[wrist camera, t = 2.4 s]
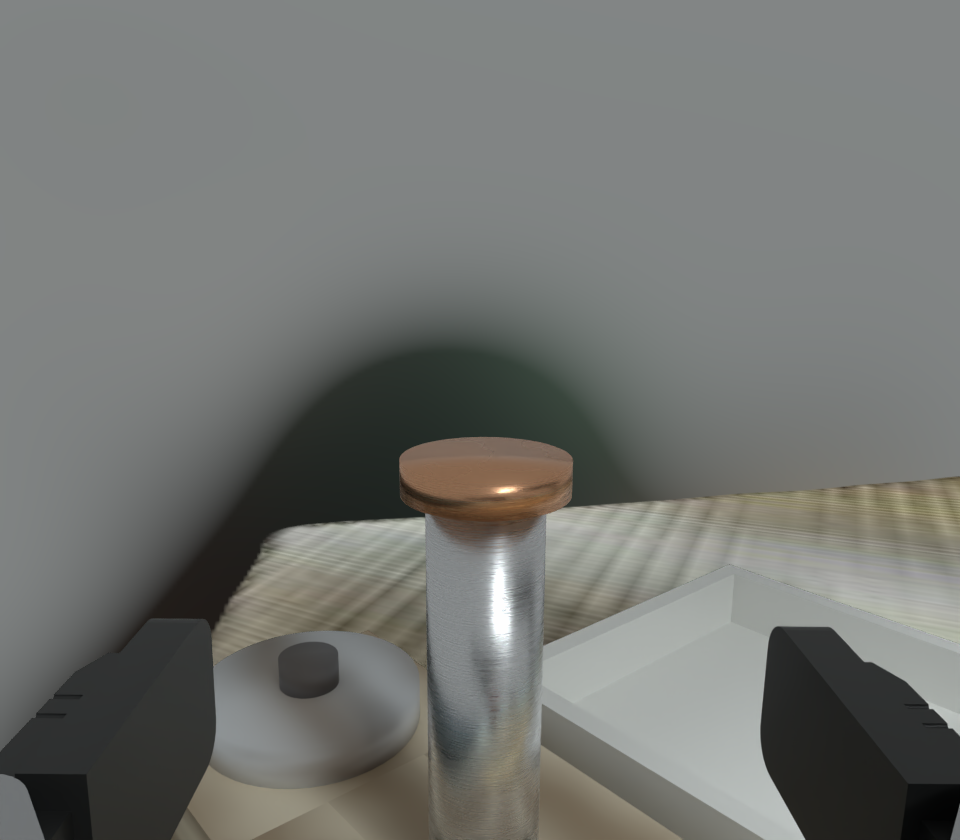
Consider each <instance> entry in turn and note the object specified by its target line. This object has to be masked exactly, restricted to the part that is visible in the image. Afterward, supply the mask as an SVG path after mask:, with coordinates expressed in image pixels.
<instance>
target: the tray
mask: <svg viewBox="0 0 960 840" xmlns="http://www.w3.org/2000/svg"><path fill="white" fill-rule="evenodd" d="M777 626H796V627H830V628H832V629H833V630H835V632H836V633H837V634H838V635H839V636H840V637H841V638H842V639H843V640H844V641H845V642H846V643H847V644H848V645H849V646H850V648H851V649H852V650H853V651H854V652H855V653H856V654H857V655H858V656H859V657H860V658H861V659H862V660H863V661H864V662H873V663H874V664H876V665H878V666H880V667H881V668H883V669H885V670H887V671H888V672H890V673H892V674H894V675H895V676H897V677H899V678H901V679H902V680H904V681H906V682H907V683H908V684H909V685H910V686H911V687H912V688H913V689H914V690H915V691H916V692H917V693H918V694H919V695H920V696H921V697H922V698H923V699H924V700H925V701H926V702H927V703H928V704H929V709H934V710H935V711H936V712H937V713H938V714H939V715H940V716H941V717H942V718H943V719H944V720H945V721H946V722H947V723H948V728H953V729H954V730H955V731H956V732H957V733H958V735H959V736H960V644H958V643H955V642H953V641H950V640H947V639H944V638H941V637H938V636H935V635H932V634H929V633H927V632H924V631H921V630H918V629H915V628H912V627H909V626H906V625H903V624H900V623H898V622H895V621H892V620H889V619H886V618H883V617H880V616H877V615H874V614H872V613H869V612H866V611H863V610H860V609H857V608H854V607H851V606H848V605H846V604H843V603H840V602H837V601H834V600H831V599H828V598H825V597H822V596H820V595H817V594H814V593H811V592H808V591H805V590H802V589H799V588H796V587H793V586H791V585H788V584H785V583H782V582H779V581H776V580H773V579H770V578H767V577H765V576H762V575H759V574H756V573H753V572H750V571H747V570H744V569H741V568H739V567H736V566H733V565H730V564H729V565H727V566H724V567H722V568H720V569H717V570H715V571H713V572H711V573H708V574H706V575H704V576H701V577H699V578H697V579H695V580H692V581H690V582H688V583H686V584H683V585H681V586H679V587H676V588H674V589H672V590H670V591H667V592H665V593H663V594H660V595H658V596H656V597H654V598H651V599H649V600H647V601H645V602H642V603H640V604H638V605H635V606H633V607H631V608H629V609H626V610H624V611H622V612H619V613H617V614H615V615H613V616H610V617H608V618H606V619H604V620H601V621H599V622H597V623H594V624H592V625H590V626H588V627H585V628H583V629H581V630H578V631H576V632H574V633H572V634H569V635H567V636H565V637H563V638H560V639H558V640H556V641H553V642H551V643H549V644H547V645H544V646H543V671H542V713H541V745H542V746H543V747H545V748H546V749H548V750H549V751H551V752H552V753H554V754H555V755H557V756H558V757H560V758H561V759H563V760H564V761H566V762H568V763H569V764H571V765H572V766H574V767H575V768H577V769H578V770H580V771H581V772H583V773H584V774H586V775H587V776H589V777H590V778H592V779H593V780H595V781H596V782H598V783H599V784H601V785H602V786H604V787H605V788H607V789H608V790H610V791H611V792H613V793H614V794H616V795H617V796H619V797H620V798H622V799H623V800H625V801H626V802H628V803H629V804H631V805H632V806H634V807H635V808H637V809H638V810H640V811H641V812H643V813H644V814H646V815H647V816H649V817H650V818H652V819H653V820H655V821H656V822H658V823H659V824H661V825H662V826H664V827H665V828H667V829H668V830H670V831H671V832H673V833H674V834H676V835H677V836H679V837H680V838H682V839H683V840H805V838H804V836H803V835H802V833H801V831H800V829H799V827H798V826H797V824H796V822H795V820H794V818H793V817H792V815H791V813H790V811H789V809H788V808H787V806H786V804H785V802H784V800H783V799H782V797H781V795H780V793H779V792H778V790H777V788H776V786H775V784H774V783H773V781H772V779H771V777H770V775H769V773H768V771H767V769H766V766H765V762H764V759H763V754H762V748H761V739H760V724H761V713H762V703H763V692H764V682H765V671H766V661H767V650H768V642H769V637H770V634H771V632H772V630H773V629H774V628H775V627H777Z"/></svg>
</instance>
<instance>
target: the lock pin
mask: <svg viewBox="0 0 960 840" xmlns="http://www.w3.org/2000/svg"><path fill="white" fill-rule="evenodd" d="M572 473H573V459H572V457H571V456H570V454H568V453H567V452H566V451H564V450H562V449H560V448H557V447H555V446H552V445H548V444H544V443H540V442H535V441H530V440H522V439H513V438H500V437H499V438H498V437H468V438H455V439H447V440H439V441H434V442H429V443H425V444H421V445H418V446H415V447H413V448H411V449H408V450H407V451H405V452H404V453H403V454H402V455H401V456H400V497H401V499H402V501H404V502H405V504H407V505H408V506H410V507H412V508H414V509H416V510H418V511H420V512H423V513H425V514H426V515H425V516H426V609H427V702H428V794H429V840H539V799H540V756H541V713H542V671H543V628H544V585H545V543H546V514H548V513H551V512H554V511H556V510H558V509H561V508H562V507H564V506H565V505H567V504H568V502H569V501H570V500H571V497H572Z"/></svg>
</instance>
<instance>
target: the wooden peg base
mask: <svg viewBox="0 0 960 840" xmlns="http://www.w3.org/2000/svg"><path fill="white" fill-rule="evenodd" d="M213 674H214V691H215V708H216V735H215V742H214V748H213V753H212V756H211V760H210V763H209V765H208V768H207V770H206V772H205V774H204V776H203V778H202V780H201V782H200V784H199V785H198V787H197V789H196V791H195V793H194V795H193V797H192V799H191V801H190V803H189V805H188V807H187V809H186V811H185V813H184V815H183V817H182V819H181V821H180V823H179V825H178V827H177V828H176V830H175V832H174V834H173V836H172V838H171V840H429V794H428V702H427V669H426V668H425V667H423V666H422V665H420V664H418V663H417V662H415V661H414V660H413V659H412V658H411V657H410V656H409V655H408V654H407V653H406V652H405V651H403V650H402V649H401V648H399V647H397V646H396V645H394V644H392V643H390V642H388V641H385V640H383V639H381V638H379V637H378V636H376V635H375V634H373V633H372V632H370V631H369V630H367V631H365V632H362V633H353V632H344V631H311V632H302V633H295V634H289V635H284V636H279V637H275V638H271V639H268V640H265V641H261V642H258V643H256V644H253V645H250V646H248V647H246V648H243V649H241V650H239V651H237V652H235V653H233V654H231V655H230V656H228V657H226V658H225V659H223V660H222V661H220V662H219V663H218V664H216V665H215V666H214V667H213ZM539 840H683V839H682V838H680V837H679V836H677V835H676V834H674V833H673V832H671V831H670V830H668V829H667V828H665V827H664V826H662V825H661V824H659V823H658V822H656V821H655V820H653V819H652V818H650V817H649V816H647V815H646V814H644V813H643V812H641V811H640V810H638V809H637V808H635V807H634V806H632V805H631V804H629V803H628V802H626V801H625V800H623V799H622V798H620V797H619V796H617V795H616V794H614V793H613V792H611V791H610V790H608V789H607V788H605V787H604V786H602V785H601V784H599V783H598V782H596V781H595V780H593V779H592V778H590V777H589V776H587V775H586V774H584V773H583V772H581V771H580V770H578V769H577V768H575V767H574V766H572V765H571V764H569V763H568V762H566V761H564V760H563V759H561V758H560V757H558V756H557V755H555V754H554V753H552V752H551V751H549V750H548V749H546V748H545V747H543V746H542V745H541V756H540V799H539Z"/></svg>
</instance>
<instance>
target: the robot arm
mask: <svg viewBox="0 0 960 840" xmlns="http://www.w3.org/2000/svg"><path fill="white" fill-rule="evenodd" d="M215 735H216V708H215V691H214V674H213V656H212V639H211V631H210V627H209V624H208V622H207V621H206V620H205V619H150V620H149V621H148V622H146V624H145V625H144V626H143V627H142V628H141V629H140V631H139V632H138V633H137V634H136V635H135V636H134V637H133V639H132V640H131V641H130V642H129V643H128V644H127V645H126V647H125V648H124V649H123V650H122V651H121V652H120V653H107V654H106V655H104V656H102V657H101V658H99V659H97V660H95V661H94V662H92V663H90V664H88V665H87V666H85V667H83V668H81V669H80V670H78V671H76V672H75V673H74V674H73V675H72V676H71V677H70V678H69V679H68V680H67V681H66V682H65V684H63V686H62V687H61V688H60V689H59V690H58V691H57V692H56V693H55V694H54V698H53V699H49V700H48V702H47V703H46V704H45V705H44V706H43V707H42V708H41V709H40V710H39V711H38V712H37V714H36V718H32V719H31V720H30V721H29V722H28V723H27V724H26V725H25V726H24V727H23V728H22V729H21V730H20V731H19V733H18V734H17V735H16V736H15V737H14V738H13V739H12V740H11V741H10V742H9V743H8V744H7V745H6V746H5V747H4V748H3V749H2V751H1V752H0V840H171V838H172V836H173V834H174V832H175V830H176V828H177V827H178V825H179V823H180V821H181V819H182V817H183V815H184V813H185V811H186V809H187V807H188V805H189V803H190V801H191V799H192V797H193V795H194V793H195V791H196V789H197V787H198V785H199V784H200V782H201V780H202V778H203V776H204V774H205V772H206V770H207V768H208V765H209V763H210V760H211V756H212V753H213V748H214V742H215ZM760 739H761V748H762V754H763V759H764V762H765V766H766V769H767V771H768V773H769V775H770V777H771V779H772V781H773V783H774V784H775V786H776V788H777V790H778V792H779V793H780V795H781V797H782V799H783V800H784V802H785V804H786V806H787V808H788V809H789V811H790V813H791V815H792V817H793V818H794V820H795V822H796V824H797V826H798V827H799V829H800V831H801V833H802V835H803V836H804V838H805V840H960V736H959V735H958V733H957V732H956V731H955V730H954V729H953V728H948V723H947V722H946V721H945V720H944V719H943V718H942V717H941V716H940V715H939V714H938V713H937V712H936V711H935V710H934V709H929V704H928V703H927V702H926V701H925V700H924V699H923V698H922V697H921V696H920V695H919V694H918V693H917V692H916V691H915V690H914V689H913V688H912V687H911V686H910V685H909V684H908V683H907V682H906V681H904V680H902V679H901V678H899V677H897V676H895V675H894V674H892V673H890V672H888V671H887V670H885V669H883V668H881V667H880V666H878V665H876V664H874V663H873V662H864V661H863V660H862V659H861V658H860V657H859V656H858V655H857V654H856V653H855V652H854V651H853V650H852V649H851V648H850V646H849V645H848V644H847V643H846V642H845V641H844V640H843V639H842V638H841V637H840V636H839V635H838V634H837V633H836V632H835V630H833V629H832V628H830V627H796V626H777V627H775V628H774V629H773V630H772V632H771V634H770V637H769V642H768V650H767V661H766V671H765V682H764V692H763V703H762V713H761V724H760Z"/></svg>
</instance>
